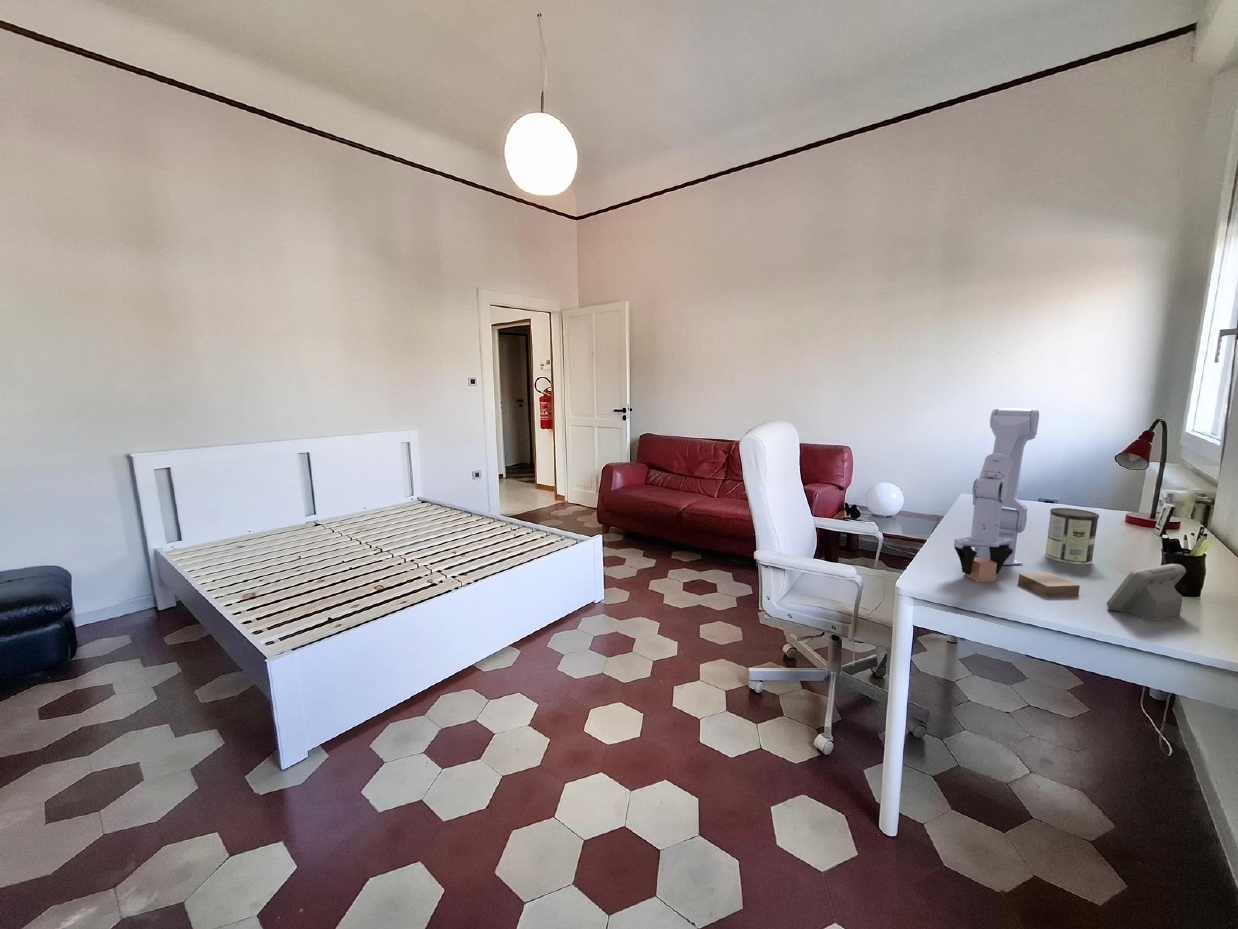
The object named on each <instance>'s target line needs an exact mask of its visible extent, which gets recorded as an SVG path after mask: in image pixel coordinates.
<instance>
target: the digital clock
mask: <svg viewBox="0 0 1238 929" xmlns="http://www.w3.org/2000/svg"><path fill="white" fill-rule="evenodd" d="M1186 573H1187V570H1186V568H1185V566H1183V565H1182V564H1178V563H1168V564H1162V565H1157V566H1156V565H1155V566H1152V567H1146V568H1140V569H1136V570H1132V571H1130V573H1128V575H1127V576H1126V578H1124V580H1123V581H1122V583H1121V584H1120V585H1119V586H1118V588H1117V589H1116V590H1115V591H1114V593H1113V594H1112V596H1111V597H1110V598H1109V599H1108V600H1107V602H1106V604H1107V608H1108V609H1109V610H1110V611H1114V612H1127V613H1130V614H1133V615H1135V616H1139V617H1142V618H1146V619H1147V620H1151V621H1157V620H1161V619H1165V618H1170V617H1174V616H1179V615H1181V610H1182V609H1181V608H1182V603H1183V595H1182V594H1181V593H1179V592H1178V591H1177V589H1176V587H1175V586H1176V585H1177V584H1178V582H1180V580H1181V579H1182V578H1183V576H1185V574H1186Z"/></svg>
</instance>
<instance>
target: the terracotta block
mask: <svg viewBox="0 0 1238 929" xmlns="http://www.w3.org/2000/svg"><path fill="white" fill-rule="evenodd" d="M996 567H997V563H996V562H993V561H991V560H989V559H987V558H984V557H977V556H975V558H974V561H973V565H972V572H971V574H970V575H968V574H966V573H964V575H965V576H966V575H967V576H966V577H968V578H970V579H972V580H974V581H976V582H982V583H983V582H995V581H996V575H997V574H996Z"/></svg>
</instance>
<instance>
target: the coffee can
mask: <svg viewBox="0 0 1238 929" xmlns="http://www.w3.org/2000/svg"><path fill="white" fill-rule="evenodd" d="M1049 511H1050V516H1049V522H1048V531H1047V540H1046V547H1045V553H1044V556H1045V557H1047V558H1048V559H1050V560H1053V561H1055V562H1056V561H1057V562H1061V563H1064V564H1070V565H1080V566H1081V565H1083V566H1086V565H1087V566H1088V565H1092V564H1093V557H1094V556H1093V555H1094V549H1095V542H1096V535H1097V528H1098V523H1099V522H1098V521H1099V518H1100V514H1098V513H1096V512H1093V511H1089V510H1085V509H1077V508H1072V507H1071V508H1070V507H1069V508H1068V507H1053V508H1050V509H1049Z"/></svg>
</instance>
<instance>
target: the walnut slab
mask: <svg viewBox="0 0 1238 929" xmlns="http://www.w3.org/2000/svg"><path fill="white" fill-rule="evenodd" d="M1018 584H1019V585H1020V586H1023V587H1025V588H1027V589H1029V590H1031V591H1034V592H1035V593H1037V594H1039V595H1042V596H1043V597H1047V598H1048V597H1050V598H1051V597H1072V596H1073V597H1076V596H1077V597H1079V594H1080V587H1081V585H1080V584H1077V583H1075V582H1072V581H1071V580H1068V579H1066V578H1063V577H1061V576H1059V575H1056V574H1053V573H1051V572H1039V573H1038V572H1036V573H1035V572H1033V573H1030V572H1029V573H1019V574H1018Z"/></svg>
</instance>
